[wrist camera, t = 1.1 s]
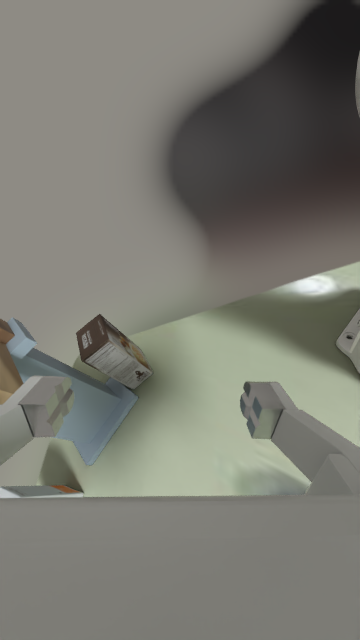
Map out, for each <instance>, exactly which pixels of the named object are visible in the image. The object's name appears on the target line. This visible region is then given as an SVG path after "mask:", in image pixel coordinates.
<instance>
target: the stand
mask: <svg viewBox="0 0 360 640" xmlns="http://www.w3.org/2000/svg"><path fill="white" fill-rule="evenodd" d="M7 323H8V325H9V326H10V328H11V330H12V331H13V333H14V335H15V336H14V337H13V338H12V339H11V340H10V341H9V342H8V343H7V344H6V346H7V348H8V350H9V353H10V355H11V357H12V359H13V361H14V364H15V366H16V368H17V370H18V372H19V375H20V377H21V379H22V381H23V383H25V382H26V381H27V380H28V379H29V378H30V377H32V376H34V375H35V376H59V377H69V378H71V382H72V384H71V386H70V388H71V389H72V390H73V391H74V403H73V407H72V409H71V411H70V412H69V414H67V415H66V416H64V417H63V420H64V423H63V425H62V426H61V428H60V430H59V431H58V433H57V435H56V437H53V438H59V439H65V440H71V441H73V443H74V444H75V446H76V448H77V450H78V451H79V453H80V455H81V457H82V458H83V460H84V462H85V464H86V465H92V464H93V463H94V462H95V460H96V459H97V457H98V456H99V454H100V453H101V451H102V450H103V449H104V447H105V446H106V444H107V443H108V441H109V440H110V438H111V437H112V436H113V434H114V433H115V431H116V430H117V428H118V427H119V425H120V424H121V423H122V421H123V420H124V418H125V417H126V415H127V414H128V412H129V411H130V410H131V408H132V407H133V405H134V404H135V402H136V401H137V399H138V398H139V397H138V396H137V395H135V394H134V393H133V392H132V391H131V390H130V389H128V388H127V387H126V386H125V385H124V384H122V383H120V382H118V381H117V380H115V379H113V378H111V377H110V378H109V379H108V381H107V382H106V383H105V384H104V383H102V382H100V381H98V380H96V379H94V378H92V377H90V376H88V375H86V374H84V373H82V372H80V371H78V370H76V369H74V368H72V367H70V366H68V365H66V364H64V363H62V362H60V361H58V360H56V359H54V358H52V357H50V356H48V355H46V354H44V353H43V352H41V351H39V350H37V349H34V348H33V347H34V346H35V345H36V344H37V342H36V341H35V340H34V338H33V337H32V336H31V334H30V333H29V332H28V331H27V329H26V328H25V327H24V325H23V324H22V323H21V322H19V321H18V320H16V319H14V318H11V319H10V320H9V321H8V322H7Z"/></svg>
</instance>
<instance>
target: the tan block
mask: <svg viewBox="0 0 360 640" xmlns="http://www.w3.org/2000/svg"><path fill="white" fill-rule="evenodd" d="M14 336H15V335H14V333H13V331H12V330H11V328H10V326H9V325H8V323H7V322H5V321H3V320H2V319H0V405H3V404H4V403H5V402H6V401H7V400H8V399H9V398H10V397H11V396H12V395H13V394H14V393H15V392H16V391H17V390H18V389H19V388H20V387H21V386H22V385H23V384H24V383H23V381H22V379H21V377H20V375H19V372H18V370H17V368H16V366H15V364H14V361H13V359H12V357H11V355H10V353H9V350H8V348H7V346H6V344H7V343H8V342H9V341H10V340H11V339H12V338H13V337H14Z"/></svg>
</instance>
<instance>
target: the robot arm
mask: <svg viewBox="0 0 360 640" xmlns="http://www.w3.org/2000/svg"><path fill="white" fill-rule="evenodd" d="M356 103H357V108H358V113H359V116H360V54H359V58H358V65H357V72H356ZM346 337H350V338H352V339H348V338H346ZM336 345H337V347H338V348H339V349H340V350H341V351H342V352H343V353H344V354H346V355H347V356H348V357H349V358H350V359H351V360H352V362H353V364H354V366H355V367H356V369H357V371H358V372H359V374H360V309H359V310H358V311H357V313H356V314H355V315H354V317H353V318H352V320H351V321H350V322H349V324H348V325H347V327H346V328H345V329H344V331H343V332H342V333H341V335H340V336H339V338H338V339H337V341H336ZM71 384H72V382H71V378H69V377H59V376H35V375H34V376H32V377H30V378H29V379H28V380H27V381H26V382H25V383H24V384H23V385H22V386H21V387H20V388H19V389H18V390H17V391H16V392H15V393H14V394H13V395H12V396H11V397H10V398H9V399H8V400H7V401H6V402H5V403H4V404H3V405H0V465H2V464H3V463H4V462H6V461H7V460H8V459H9V458H10V457H12V456H13V455H14V454H15V453H16V452H18V451H19V450H20V449H21V448H23V447H24V446H25V445H26V444H27V443H29V442H30V441H31V440H32V439H33V437H56V435H57V433H58V431H59V430H60V428H61V426H62V425H63V423H64V420H63V417H64V416H66V415H67V414H69V412H70V411H71V409H72V407H73V403H74V391H73V390H72V389H71V388H70V386H71ZM243 388H244V391H245V392H244V393H243V394H242V395H241V399H240V407H241V411H242V414H243V416H244V417H245V418H246V419H248V421H247V427H248V429H249V432H250V434H251V437H252V438H253V439H271V441H272V442H273V443H274V444H275V445H276V446H277V447H278V448H279V449H280V450H281V451H282V452H283V453H284V454H285V455H286V456H287V457H288V458H289V459H290V460H291V461H292V462H293V463H294V465H295V466H296V467H297V468H298V469H299V470H300V471H301V472H302V473H303V474H304V475H305V476H306V477H307V478H308V479H309V480H310V481H311V482H312V483H311V484H310V486H309V487H308V489H307V491H306V493H305V495H248V496H144V497H51V498H0V640H360V448H359V447H358V446H356V445H355V444H353V443H352V442H350V441H349V440H347V439H346V438H344V437H343V436H341V435H339V434H338V433H336V432H335V431H333V430H332V429H330V428H329V427H327V426H326V425H324V424H323V423H321V422H320V421H318V420H317V419H315V418H314V417H312V416H311V415H309V414H308V413H306V412H304V411H303V410H298V408H297V407H296V405H295V404H294V403H293V401H292V400H291V399H290V397H289V396H288V394H287V393H286V392H285V390H284V389H283V387H282V386H281V385H280V383H278V382H245V384H244V387H243Z"/></svg>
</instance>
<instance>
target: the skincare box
mask: <svg viewBox="0 0 360 640" xmlns="http://www.w3.org/2000/svg"><path fill="white" fill-rule="evenodd" d="M83 494H84V493H82V492H79V491H77V490H74V489H72V488H69V487H67V486H65V485H47V486H10V487H9V486H8V487H0V498H51V497H83Z"/></svg>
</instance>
